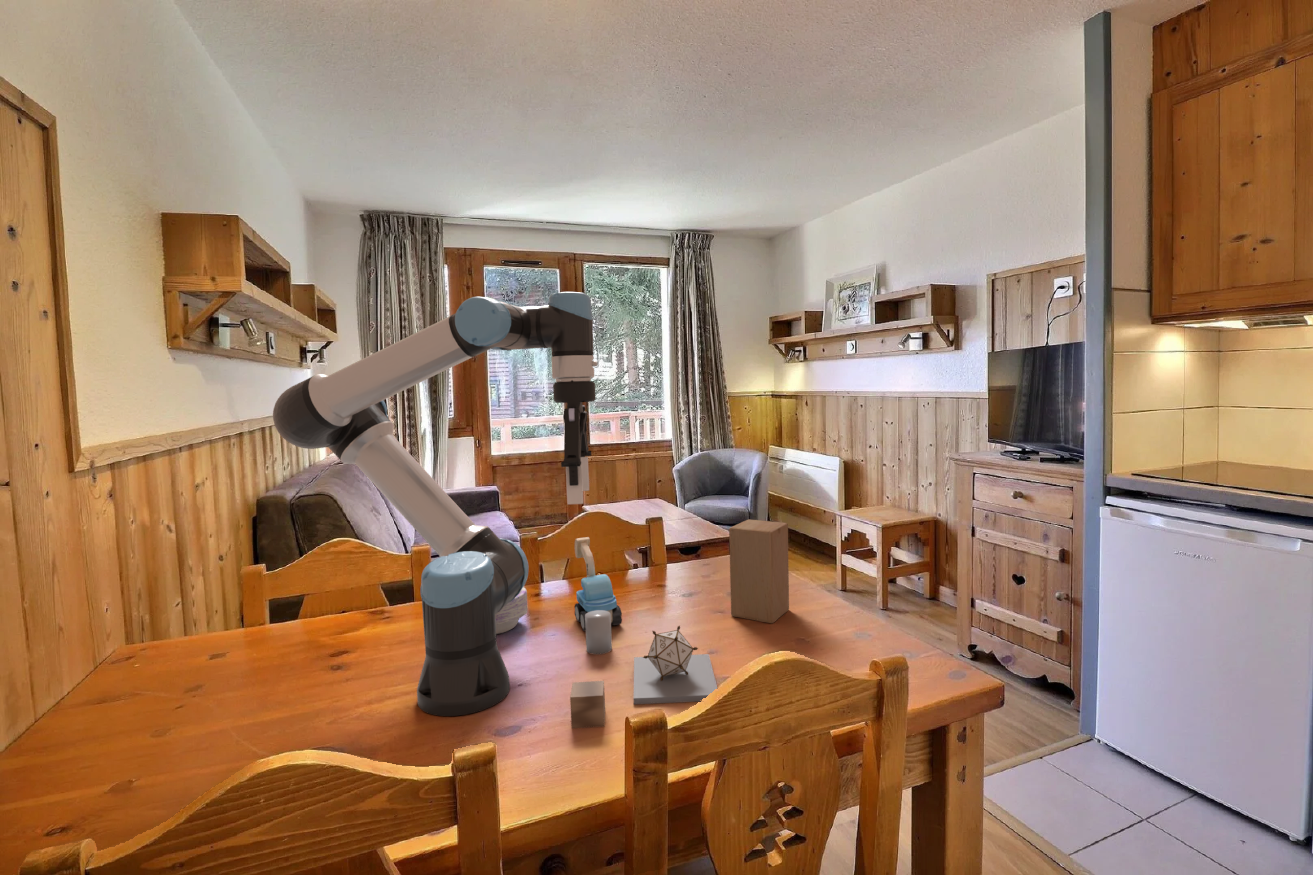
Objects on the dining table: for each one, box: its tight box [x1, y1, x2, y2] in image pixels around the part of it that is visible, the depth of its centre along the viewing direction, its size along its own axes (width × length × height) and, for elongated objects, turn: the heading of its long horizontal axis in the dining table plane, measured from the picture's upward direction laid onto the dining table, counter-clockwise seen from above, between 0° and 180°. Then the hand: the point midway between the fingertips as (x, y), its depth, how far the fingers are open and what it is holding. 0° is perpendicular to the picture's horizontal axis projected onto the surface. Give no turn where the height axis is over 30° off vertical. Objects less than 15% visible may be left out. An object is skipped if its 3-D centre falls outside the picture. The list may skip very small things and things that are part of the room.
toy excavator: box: [574, 536, 623, 632], centre depth 146 cm, size 9×17×17 cm, turn 21°
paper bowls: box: [495, 586, 529, 635], centre depth 143 cm, size 15×15×8 cm
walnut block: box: [569, 680, 606, 729], centre depth 103 cm, size 5×5×5 cm
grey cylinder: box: [585, 610, 613, 655], centre depth 129 cm, size 5×5×7 cm
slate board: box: [632, 653, 718, 705], centre depth 115 cm, size 14×16×1 cm
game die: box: [642, 625, 699, 681], centre depth 115 cm, size 9×8×10 cm
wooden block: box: [728, 519, 790, 624], centre depth 146 cm, size 10×10×20 cm
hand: (579, 497), depth 120 cm, fingers open, 13 cm apart
